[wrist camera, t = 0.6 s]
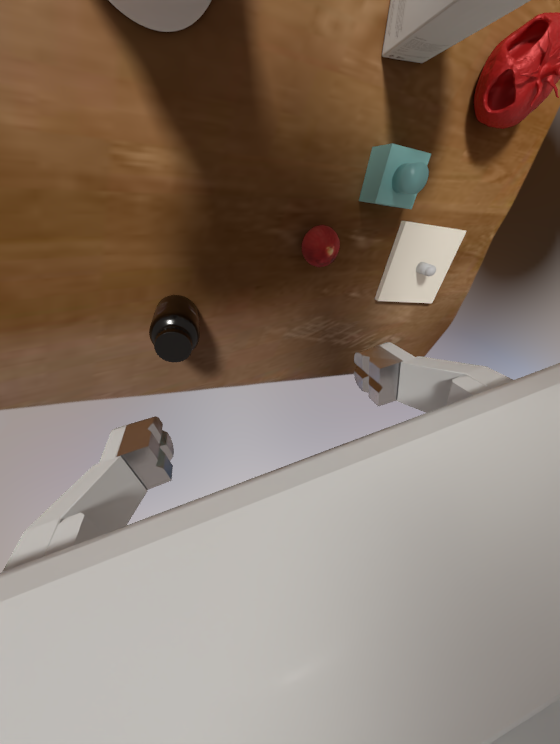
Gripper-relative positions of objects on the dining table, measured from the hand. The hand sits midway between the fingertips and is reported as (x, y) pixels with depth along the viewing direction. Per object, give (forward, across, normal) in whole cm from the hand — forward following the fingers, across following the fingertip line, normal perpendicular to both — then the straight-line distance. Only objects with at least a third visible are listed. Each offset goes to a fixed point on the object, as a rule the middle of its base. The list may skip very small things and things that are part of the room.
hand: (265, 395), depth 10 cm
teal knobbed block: (+35, -30, -7) cm, 46 cm away
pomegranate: (+34, -47, -15) cm, 60 cm away
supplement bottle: (+38, +8, +6) cm, 39 cm away
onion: (+36, -17, 0) cm, 40 cm away
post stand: (+36, -39, +8) cm, 54 cm away
